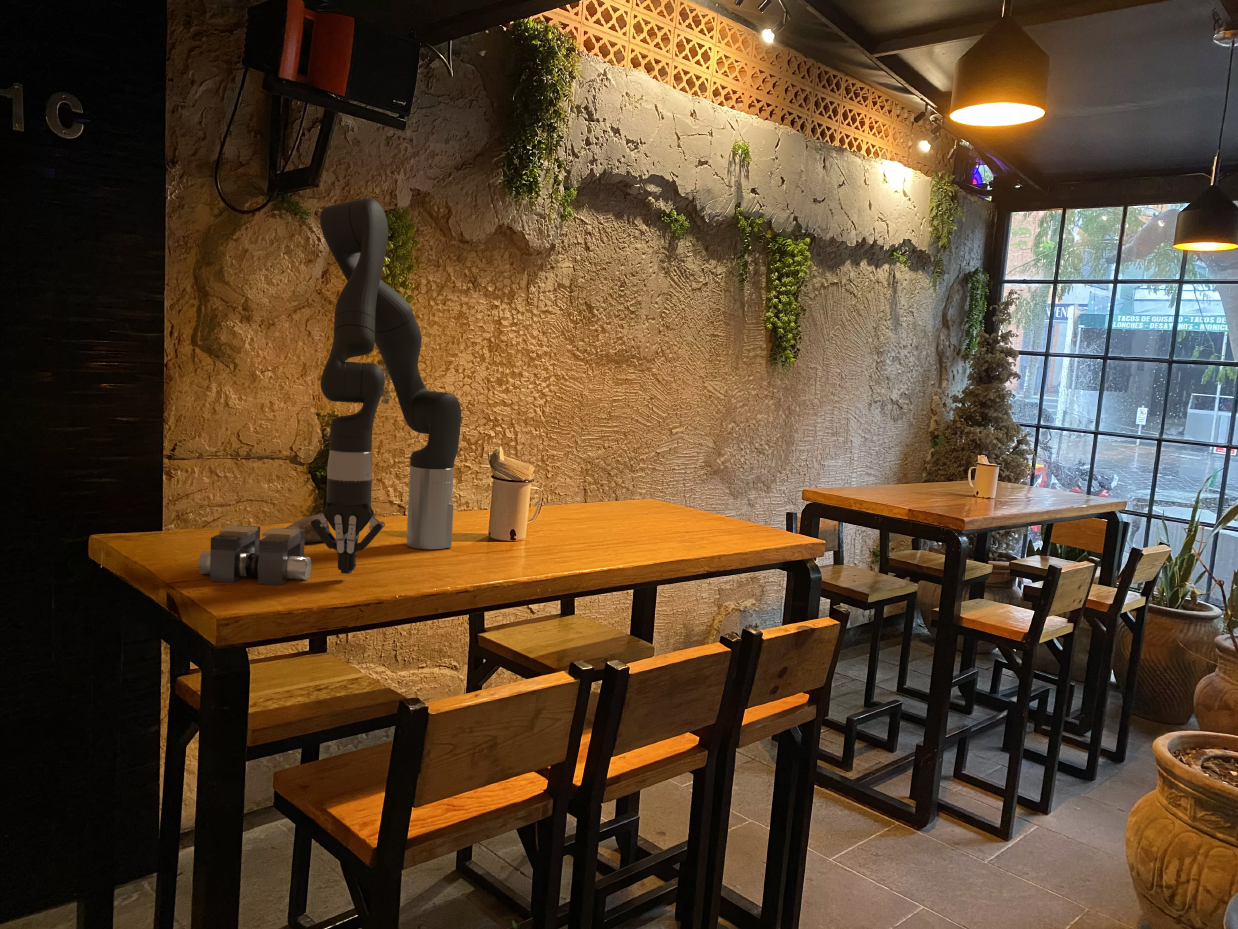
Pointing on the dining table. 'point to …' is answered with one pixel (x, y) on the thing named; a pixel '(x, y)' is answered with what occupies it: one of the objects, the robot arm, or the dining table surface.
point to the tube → (249, 565)
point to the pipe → (308, 528)
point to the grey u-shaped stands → (254, 552)
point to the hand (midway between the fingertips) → (346, 572)
